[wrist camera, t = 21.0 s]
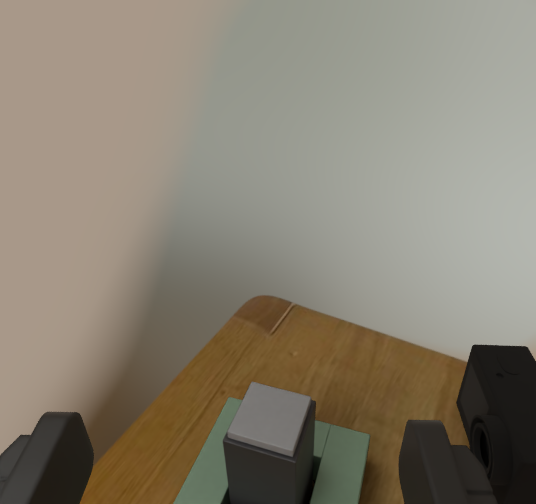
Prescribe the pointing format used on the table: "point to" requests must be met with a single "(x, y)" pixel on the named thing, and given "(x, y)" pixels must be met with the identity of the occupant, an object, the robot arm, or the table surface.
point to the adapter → (324, 464)
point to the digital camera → (502, 418)
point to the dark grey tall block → (271, 447)
